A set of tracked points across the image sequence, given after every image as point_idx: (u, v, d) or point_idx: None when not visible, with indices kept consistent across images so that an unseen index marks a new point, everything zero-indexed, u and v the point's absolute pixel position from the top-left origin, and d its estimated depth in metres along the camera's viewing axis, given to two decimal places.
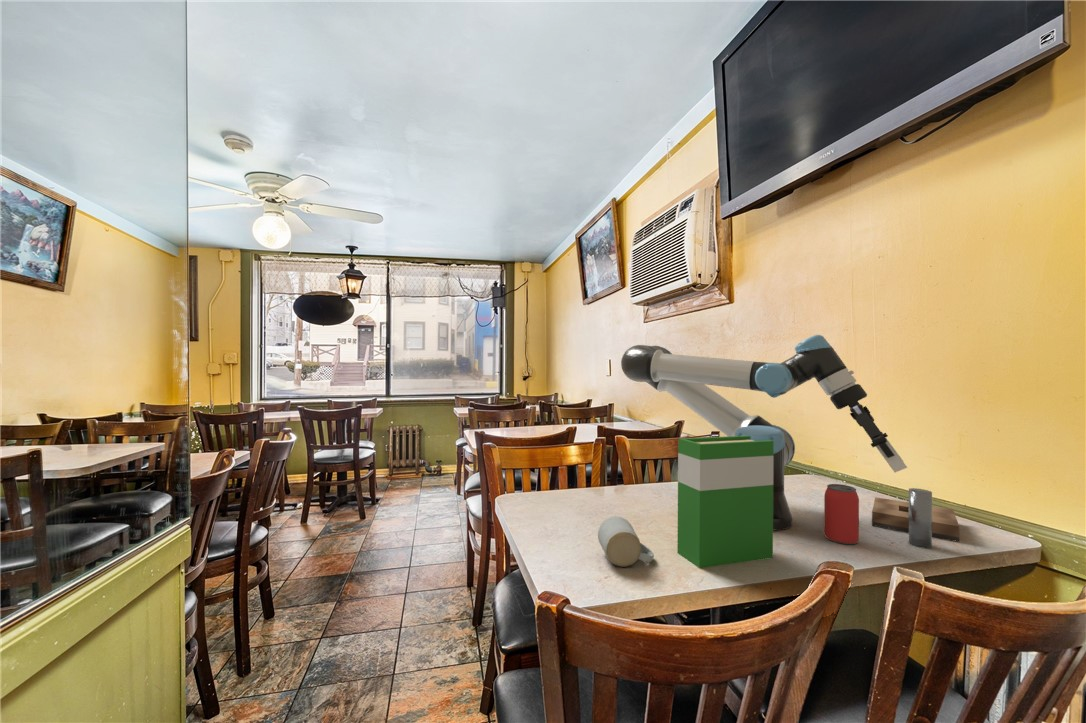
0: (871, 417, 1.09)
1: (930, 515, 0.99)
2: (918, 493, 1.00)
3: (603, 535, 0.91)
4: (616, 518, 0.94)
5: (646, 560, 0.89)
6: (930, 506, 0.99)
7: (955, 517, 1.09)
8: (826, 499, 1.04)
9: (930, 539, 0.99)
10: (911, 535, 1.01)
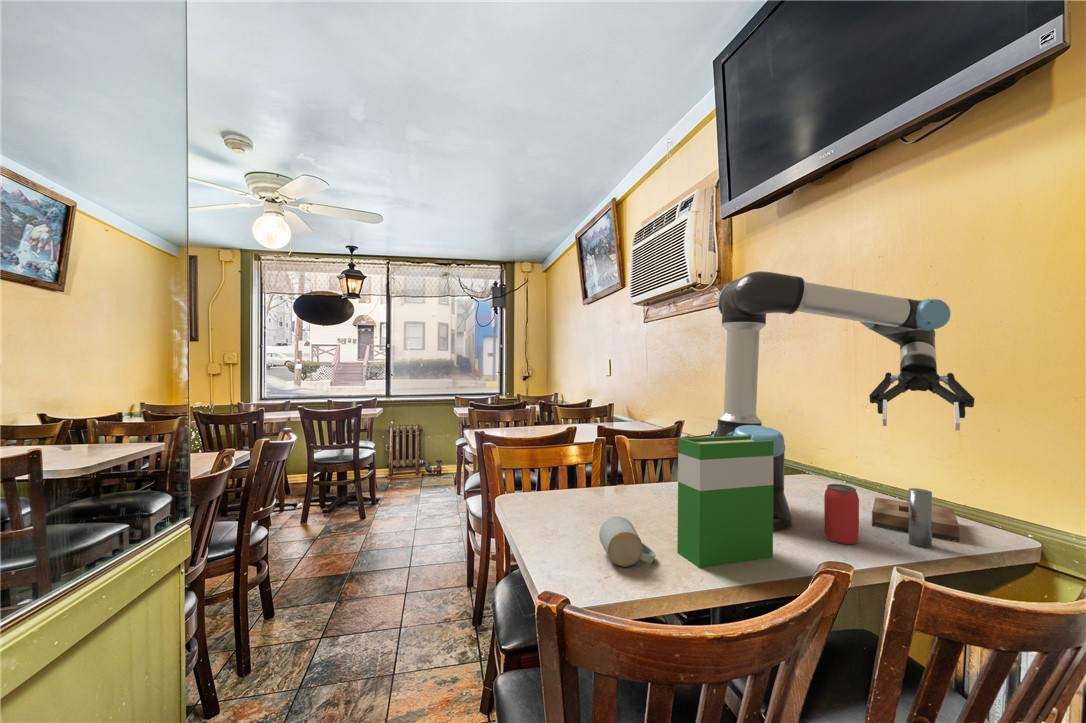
0: None
1: (930, 515, 0.99)
2: (918, 493, 1.00)
3: (604, 535, 0.91)
4: (617, 518, 0.94)
5: (647, 560, 0.89)
6: (930, 506, 0.99)
7: (955, 517, 1.09)
8: (826, 499, 1.03)
9: (930, 539, 0.99)
10: (911, 535, 1.01)
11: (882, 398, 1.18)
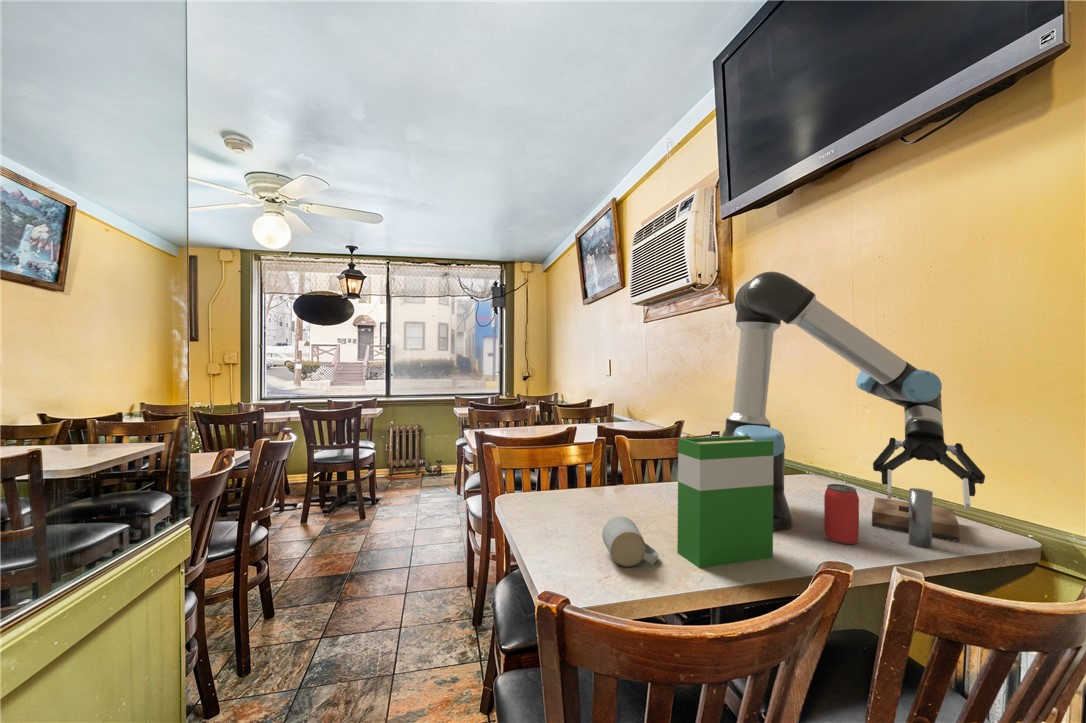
0: None
1: (930, 515, 0.99)
2: (919, 493, 0.99)
3: (607, 535, 0.91)
4: (620, 518, 0.94)
5: (650, 560, 0.89)
6: (930, 506, 0.99)
7: (955, 517, 1.09)
8: (826, 499, 1.04)
9: (930, 539, 0.99)
10: (911, 535, 1.01)
11: (886, 467, 1.11)
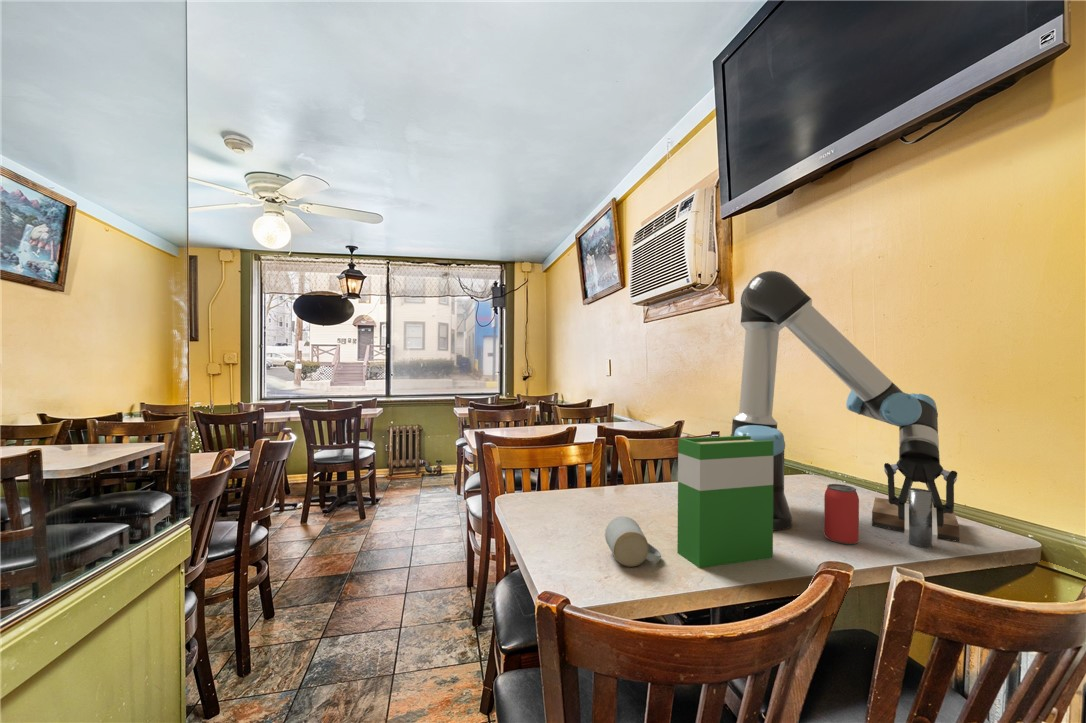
0: None
1: (930, 515, 0.99)
2: (918, 493, 1.00)
3: (610, 535, 0.91)
4: (623, 518, 0.94)
5: (653, 560, 0.89)
6: (930, 506, 0.99)
7: (955, 517, 1.09)
8: (826, 499, 1.04)
9: (930, 539, 0.99)
10: (911, 535, 1.01)
11: (904, 500, 1.03)
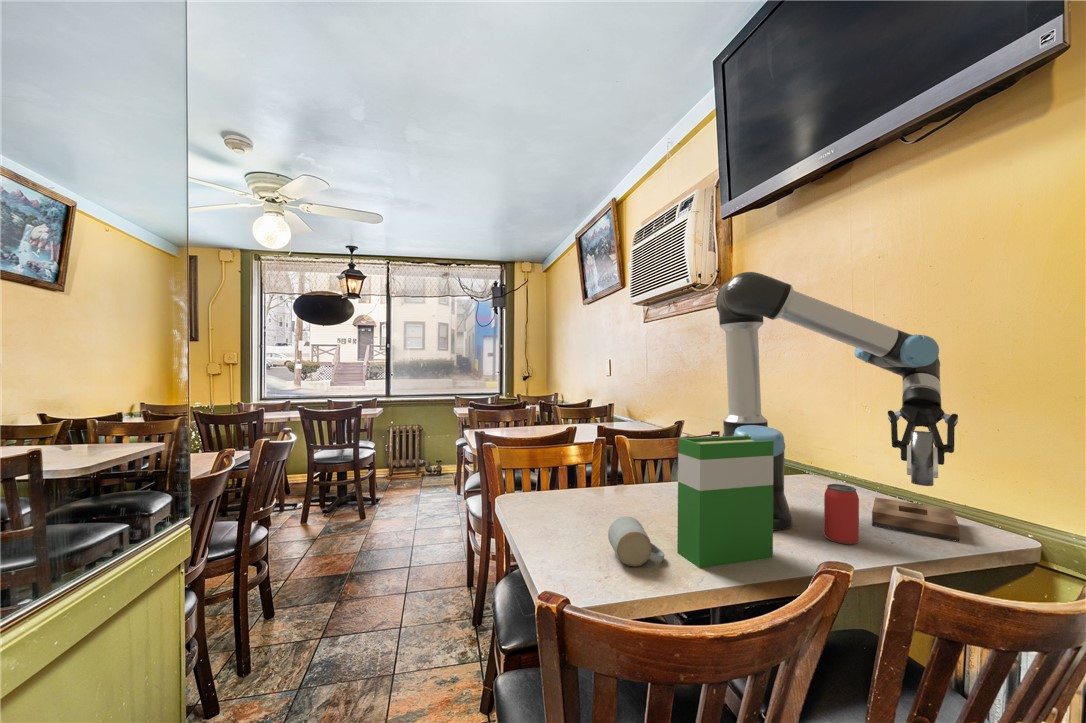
0: None
1: (931, 454, 1.04)
2: (919, 434, 1.04)
3: (613, 535, 0.91)
4: (626, 518, 0.94)
5: (656, 560, 0.89)
6: (931, 446, 1.04)
7: (955, 517, 1.09)
8: (826, 499, 1.04)
9: (931, 477, 1.04)
10: (913, 474, 1.05)
11: (906, 443, 1.08)
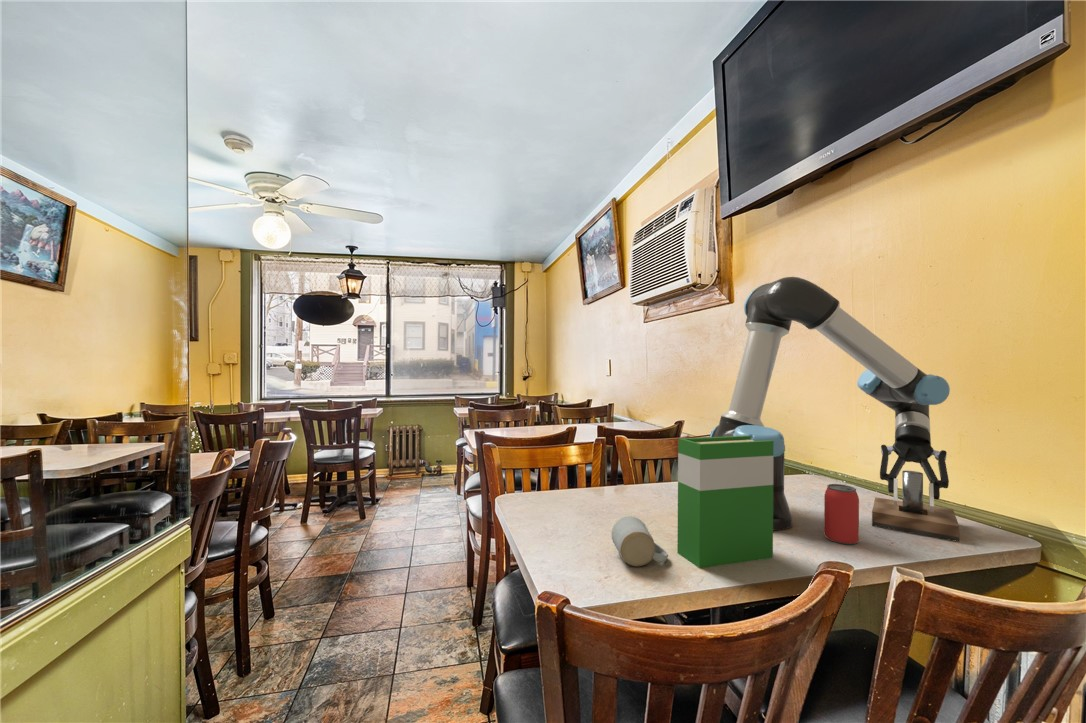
0: None
1: (921, 494, 1.12)
2: (910, 474, 1.13)
3: (617, 535, 0.91)
4: (630, 518, 0.94)
5: (660, 560, 0.89)
6: (921, 486, 1.12)
7: (955, 517, 1.09)
8: (826, 499, 1.04)
9: None
10: None
11: (893, 476, 1.17)
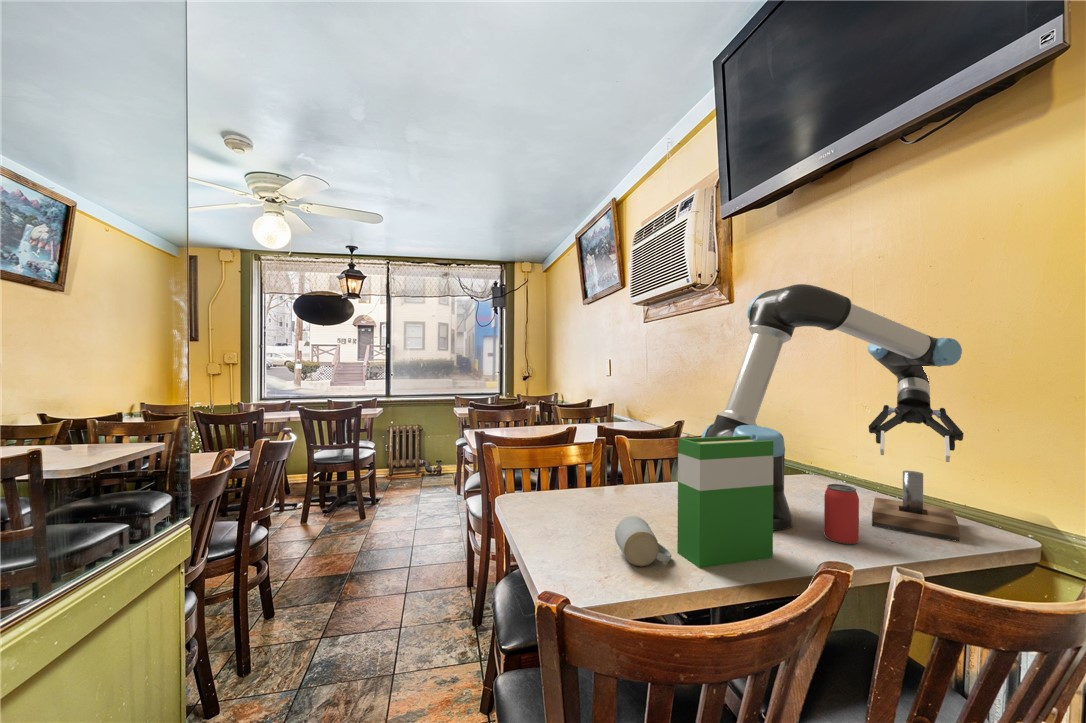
0: None
1: (921, 494, 1.12)
2: (911, 474, 1.13)
3: (620, 535, 0.91)
4: (633, 518, 0.94)
5: (663, 560, 0.89)
6: (921, 486, 1.12)
7: (955, 517, 1.09)
8: (826, 499, 1.03)
9: None
10: None
11: (880, 429, 1.29)
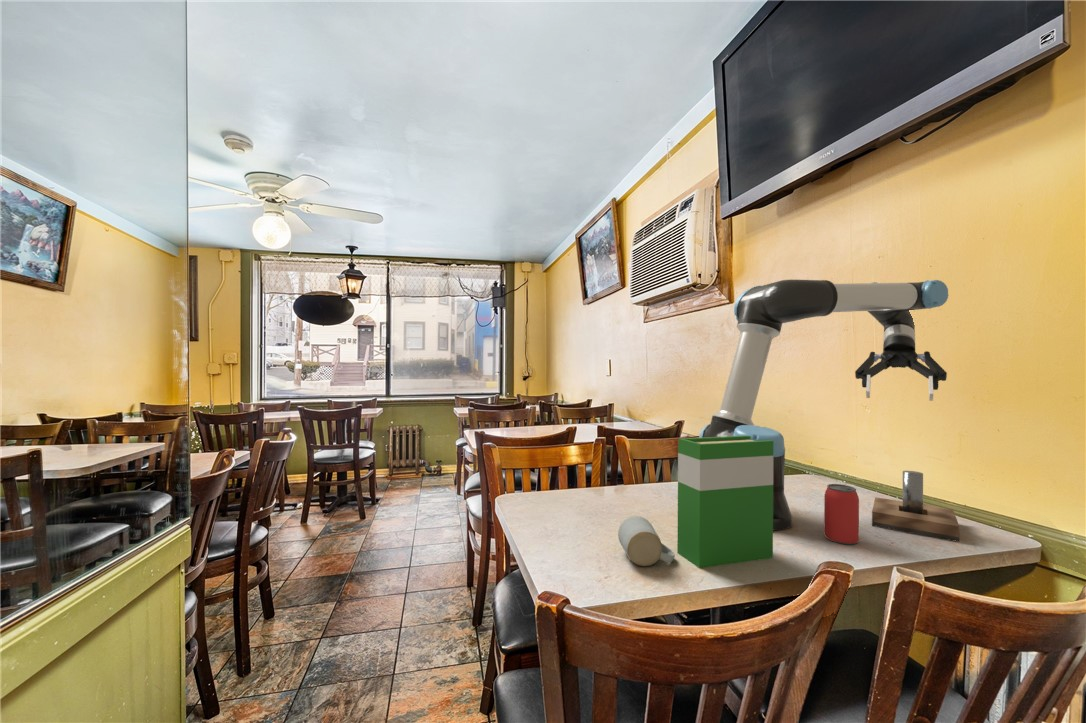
0: None
1: (921, 494, 1.12)
2: (911, 474, 1.13)
3: (624, 535, 0.91)
4: (636, 518, 0.94)
5: (667, 560, 0.89)
6: (921, 486, 1.12)
7: (955, 517, 1.09)
8: (826, 499, 1.03)
9: None
10: None
11: (866, 374, 1.31)
